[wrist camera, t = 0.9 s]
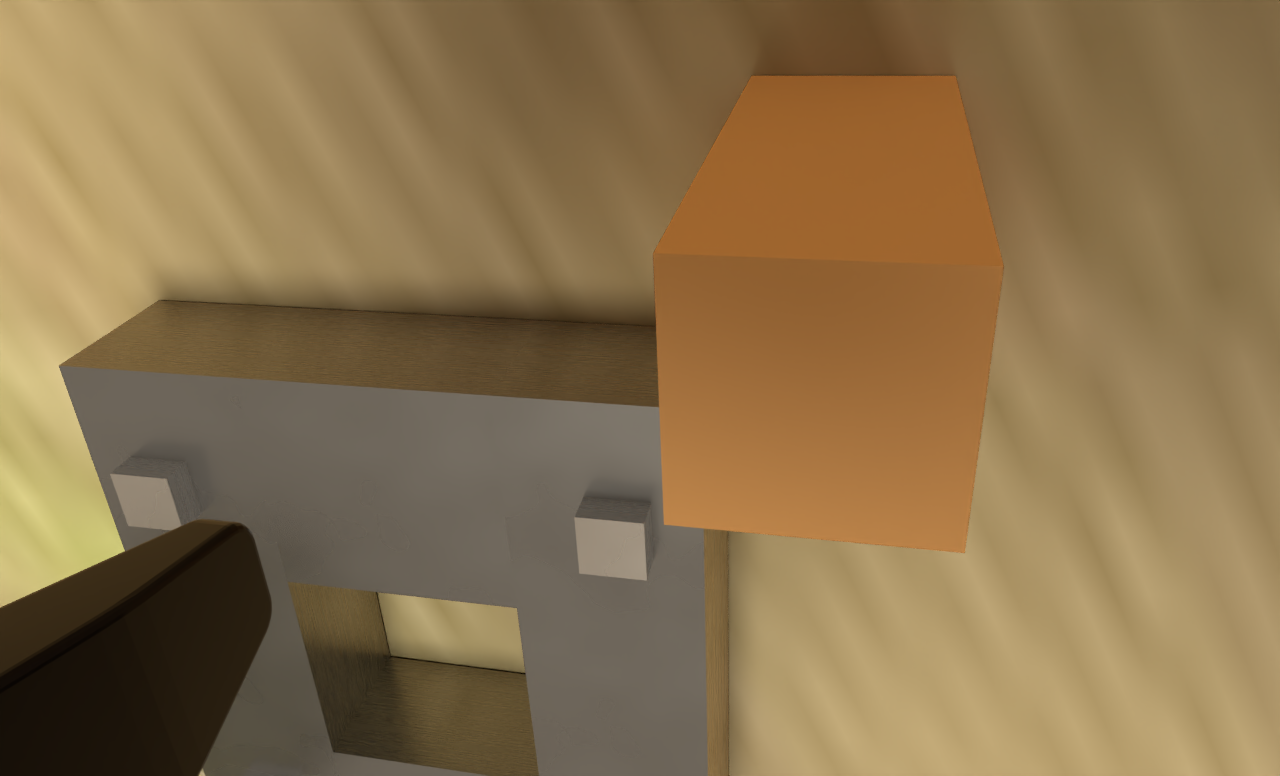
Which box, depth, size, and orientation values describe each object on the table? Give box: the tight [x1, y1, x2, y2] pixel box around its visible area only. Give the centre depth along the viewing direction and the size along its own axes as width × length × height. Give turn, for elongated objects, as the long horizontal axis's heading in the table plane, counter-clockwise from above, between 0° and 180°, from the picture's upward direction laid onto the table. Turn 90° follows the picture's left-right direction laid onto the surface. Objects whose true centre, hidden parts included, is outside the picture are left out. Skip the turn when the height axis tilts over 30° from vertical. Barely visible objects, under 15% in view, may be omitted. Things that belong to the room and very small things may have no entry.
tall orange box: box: [653, 76, 1004, 553], centre depth 14 cm, size 3×3×8 cm
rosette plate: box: [59, 300, 729, 776], centre depth 22 cm, size 12×14×4 cm
